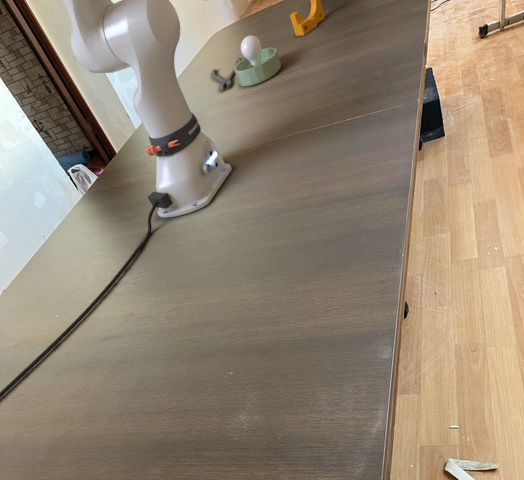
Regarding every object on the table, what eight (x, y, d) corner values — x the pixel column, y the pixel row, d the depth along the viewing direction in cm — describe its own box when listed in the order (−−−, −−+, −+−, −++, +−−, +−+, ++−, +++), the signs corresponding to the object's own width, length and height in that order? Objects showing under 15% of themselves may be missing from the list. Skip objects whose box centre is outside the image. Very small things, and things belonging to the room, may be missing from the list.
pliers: (239, 56, 175) (240, 80, 157) (240, 59, 175) (241, 82, 158) (212, 69, 177) (209, 93, 160) (213, 71, 178) (211, 96, 161)
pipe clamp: (304, 35, 166) (298, 14, 162) (295, 35, 169) (289, 15, 165) (328, 17, 169) (323, -4, 165) (319, 18, 172) (314, -3, 168)
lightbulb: (265, 67, 158) (252, 30, 150) (272, 70, 153) (259, 32, 146) (248, 76, 158) (234, 40, 150) (255, 80, 153) (241, 43, 146)
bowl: (277, 78, 149) (271, 61, 145) (236, 92, 154) (229, 76, 151) (285, 59, 157) (280, 42, 154) (245, 73, 163) (239, 57, 160)
